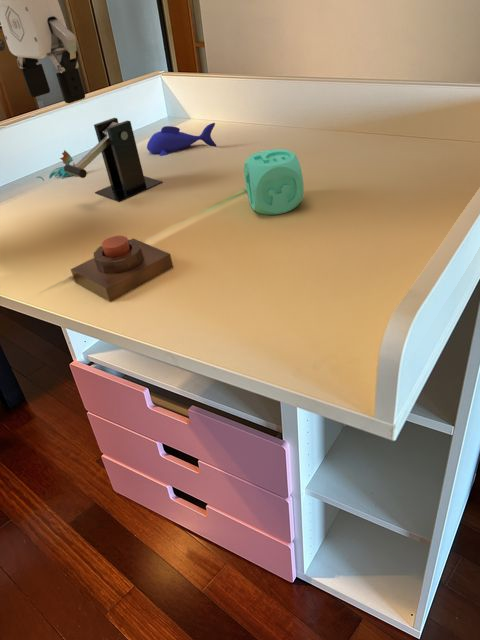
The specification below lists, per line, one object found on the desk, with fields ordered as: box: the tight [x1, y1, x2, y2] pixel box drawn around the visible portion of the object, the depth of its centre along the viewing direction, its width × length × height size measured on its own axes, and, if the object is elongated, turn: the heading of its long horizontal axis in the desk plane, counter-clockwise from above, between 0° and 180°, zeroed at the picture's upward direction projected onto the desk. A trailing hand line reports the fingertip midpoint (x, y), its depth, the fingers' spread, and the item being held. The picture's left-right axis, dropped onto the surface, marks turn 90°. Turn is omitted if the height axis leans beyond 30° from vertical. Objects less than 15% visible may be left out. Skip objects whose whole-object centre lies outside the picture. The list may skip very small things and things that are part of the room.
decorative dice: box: [243, 148, 305, 216], centre depth 92 cm, size 8×8×8 cm
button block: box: [70, 237, 174, 303], centre depth 80 cm, size 11×9×4 cm
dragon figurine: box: [35, 149, 79, 182], centre depth 114 cm, size 6×7×8 cm
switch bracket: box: [93, 117, 164, 203], centre depth 102 cm, size 10×8×13 cm
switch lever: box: [64, 122, 119, 179], centre depth 98 cm, size 12×5×2 cm, turn 136°
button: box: [101, 235, 130, 258], centre depth 78 cm, size 4×4×2 cm
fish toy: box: [146, 122, 217, 157], centre depth 118 cm, size 15×8×7 cm, turn 100°
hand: (57, 97), depth 84 cm, fingers open, 9 cm apart
